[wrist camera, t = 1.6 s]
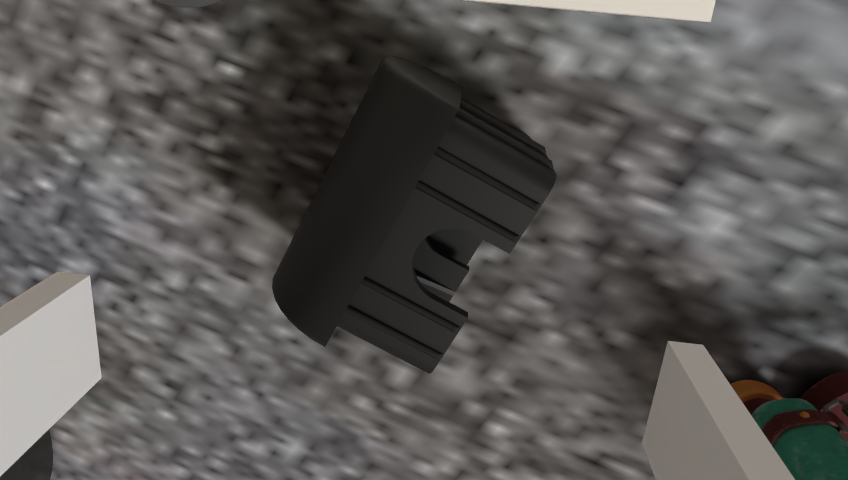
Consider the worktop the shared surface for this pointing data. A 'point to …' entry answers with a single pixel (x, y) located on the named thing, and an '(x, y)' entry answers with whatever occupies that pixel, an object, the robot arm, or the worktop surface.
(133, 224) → the worktop surface
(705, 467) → the robot arm
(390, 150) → the end cap
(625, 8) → the mount tray
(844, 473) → the binoculars
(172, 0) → the lens cap
